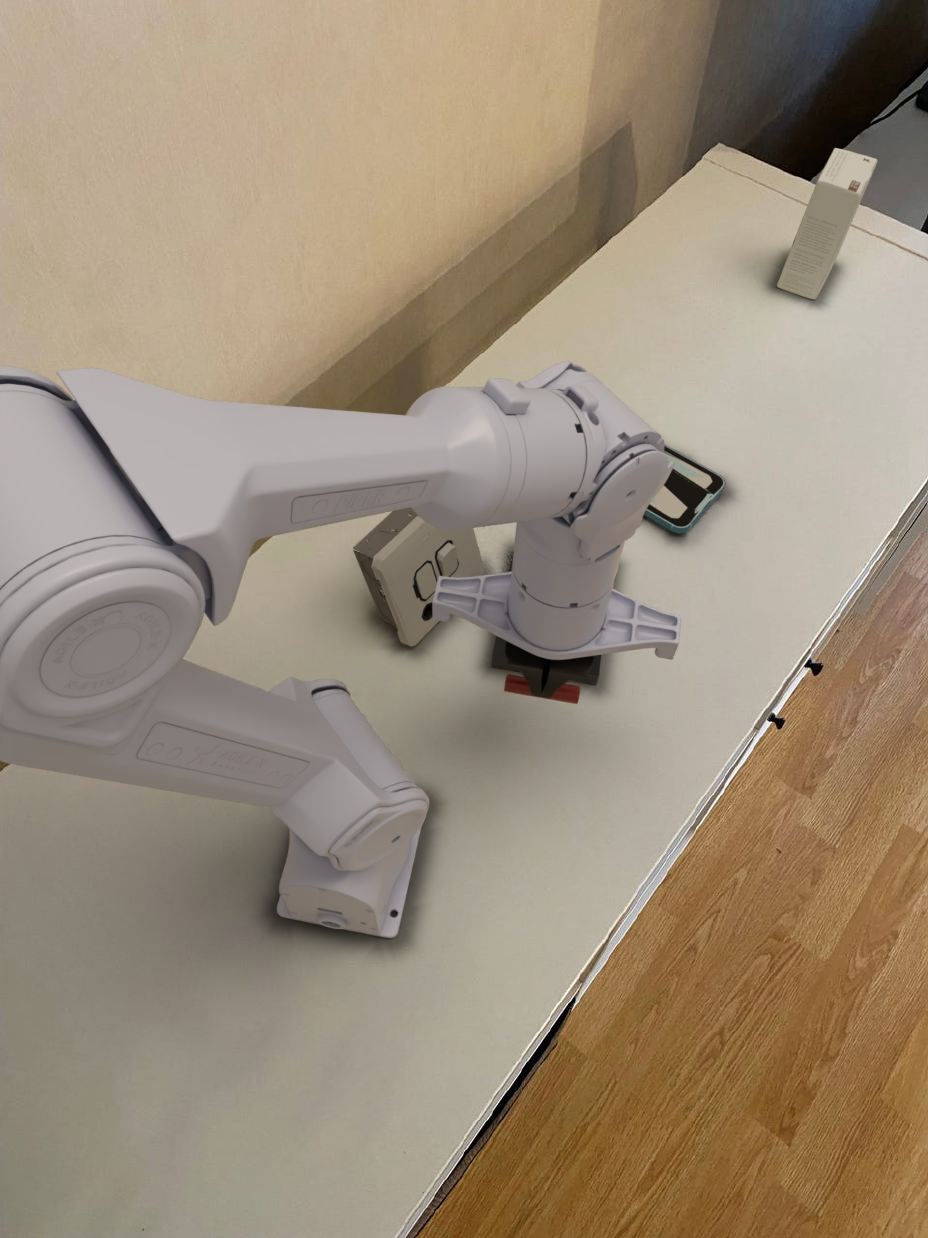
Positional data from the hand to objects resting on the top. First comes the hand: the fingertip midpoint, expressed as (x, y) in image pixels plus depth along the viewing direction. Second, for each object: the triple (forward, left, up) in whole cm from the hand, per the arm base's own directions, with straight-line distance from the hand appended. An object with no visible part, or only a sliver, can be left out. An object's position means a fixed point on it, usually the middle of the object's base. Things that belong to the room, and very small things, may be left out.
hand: (543, 683), depth 64 cm
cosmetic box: (+55, -19, -7) cm, 59 cm away
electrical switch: (+10, +11, -7) cm, 16 cm away
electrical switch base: (+10, 0, -7) cm, 12 cm away
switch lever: (+5, 0, -2) cm, 6 cm away
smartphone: (+26, -4, -7) cm, 27 cm away
